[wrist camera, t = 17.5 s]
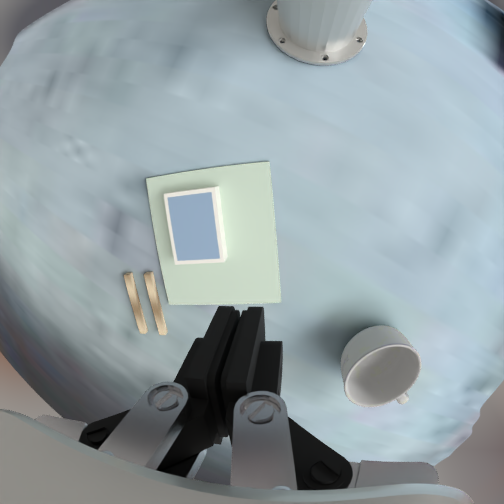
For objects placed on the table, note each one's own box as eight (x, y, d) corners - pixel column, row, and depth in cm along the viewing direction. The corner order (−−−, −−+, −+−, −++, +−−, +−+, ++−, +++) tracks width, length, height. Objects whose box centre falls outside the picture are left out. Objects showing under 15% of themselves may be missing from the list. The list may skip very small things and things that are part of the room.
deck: (219, 185, 33) (170, 192, 34) (214, 187, 32) (163, 193, 33) (227, 257, 36) (180, 259, 37) (224, 262, 34) (174, 264, 35)
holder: (126, 272, 39) (123, 275, 38) (152, 271, 39) (149, 274, 38) (142, 330, 42) (140, 333, 41) (167, 331, 41) (165, 335, 41)
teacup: (326, 336, 38) (331, 372, 31) (393, 301, 35) (413, 332, 28) (357, 392, 41) (365, 427, 33) (415, 364, 38) (431, 396, 30)
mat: (147, 178, 35) (146, 178, 34) (269, 161, 32) (269, 161, 32) (170, 303, 40) (169, 304, 39) (281, 301, 37) (281, 302, 37)
